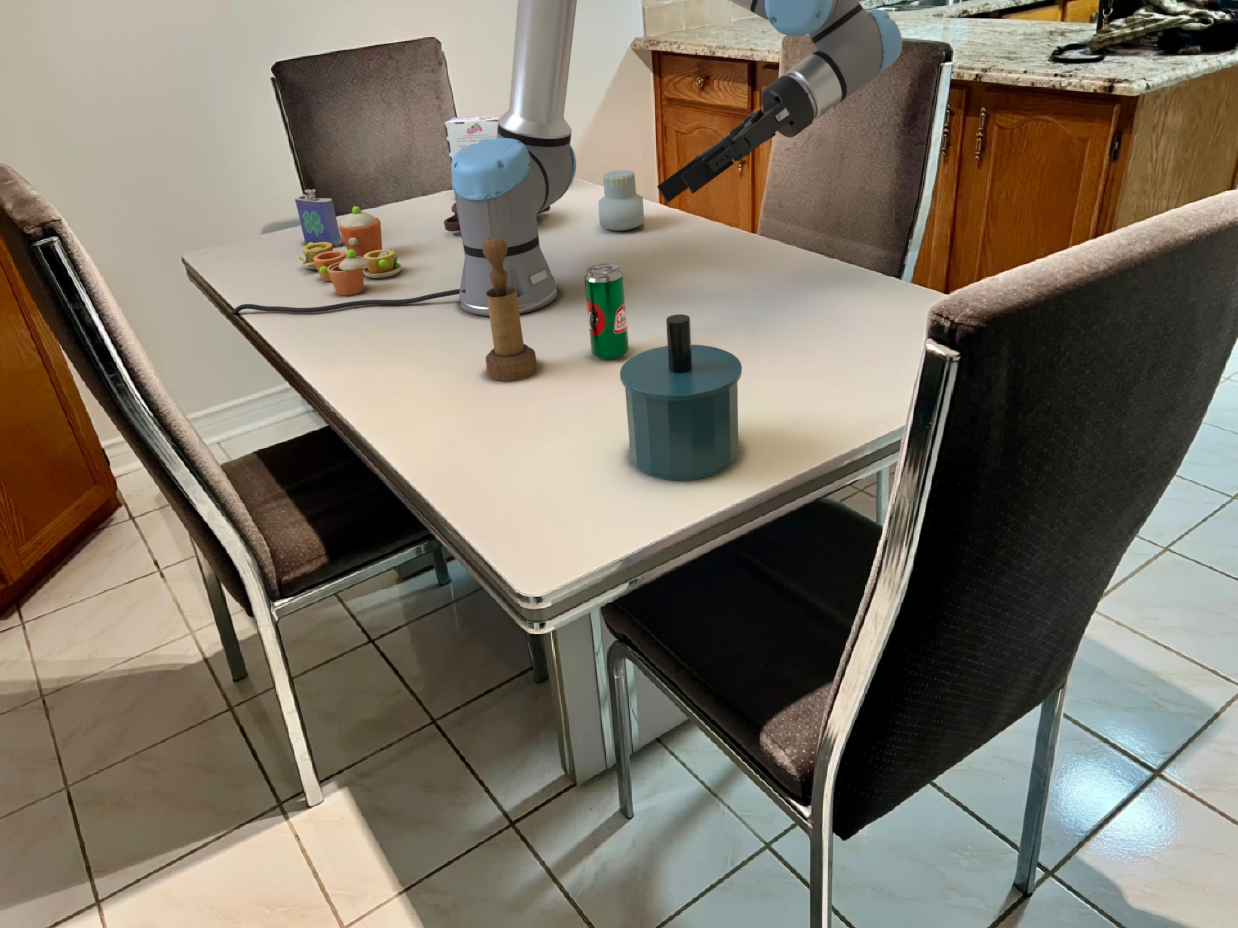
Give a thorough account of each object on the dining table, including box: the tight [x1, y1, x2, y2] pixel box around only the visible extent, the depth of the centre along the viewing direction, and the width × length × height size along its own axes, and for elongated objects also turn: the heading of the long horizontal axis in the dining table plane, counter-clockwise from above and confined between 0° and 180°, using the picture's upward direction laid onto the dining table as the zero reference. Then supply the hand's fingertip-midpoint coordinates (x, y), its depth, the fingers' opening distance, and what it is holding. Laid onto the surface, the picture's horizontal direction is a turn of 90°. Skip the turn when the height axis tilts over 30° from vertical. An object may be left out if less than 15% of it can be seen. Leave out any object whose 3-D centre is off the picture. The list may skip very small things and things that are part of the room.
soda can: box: [583, 263, 630, 361], centre depth 124 cm, size 5×5×12 cm
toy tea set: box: [296, 205, 403, 296], centre depth 165 cm, size 26×16×10 cm, turn 29°
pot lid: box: [619, 313, 743, 401], centre depth 96 cm, size 13×13×7 cm
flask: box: [294, 188, 343, 248], centre depth 182 cm, size 9×3×11 cm, turn 61°
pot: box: [624, 382, 739, 482], centre depth 100 cm, size 12×12×10 cm
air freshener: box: [598, 169, 645, 232], centre depth 177 cm, size 11×8×10 cm
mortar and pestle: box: [483, 237, 538, 382], centre depth 120 cm, size 7×6×18 cm
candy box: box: [443, 114, 503, 163], centre depth 205 cm, size 14×6×16 cm, turn 79°
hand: (674, 189), depth 127 cm, fingers open, 13 cm apart
